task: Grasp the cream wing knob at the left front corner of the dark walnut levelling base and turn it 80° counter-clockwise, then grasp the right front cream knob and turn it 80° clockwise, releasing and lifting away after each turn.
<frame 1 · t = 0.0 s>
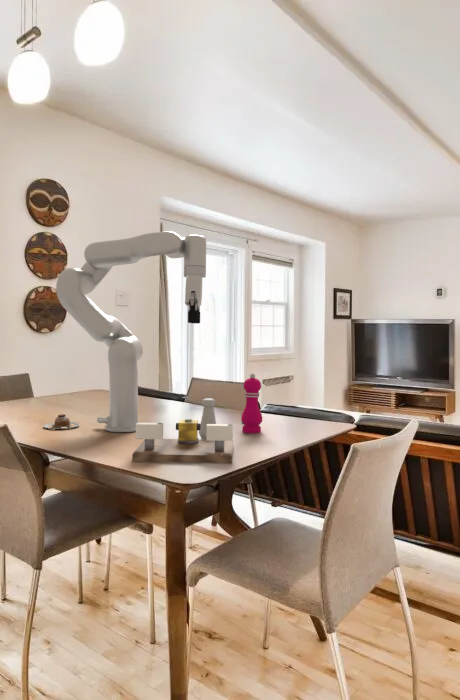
hand: (194, 323, 171), 37 cm above the table, tool pointing down, fingers open, 9 cm apart
salt shaker: (208, 440, 158), on the table
knob right: (219, 437, 136), point 6 cm above the table, hinge at 0.0°
pepper mill: (251, 432, 172), on the table
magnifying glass: (253, 422, 192), on the table
pastry: (61, 428, 175), on the table
knob left: (149, 435, 136), point 6 cm above the table, hinge at 0.0°
level base: (185, 453, 140), on the table
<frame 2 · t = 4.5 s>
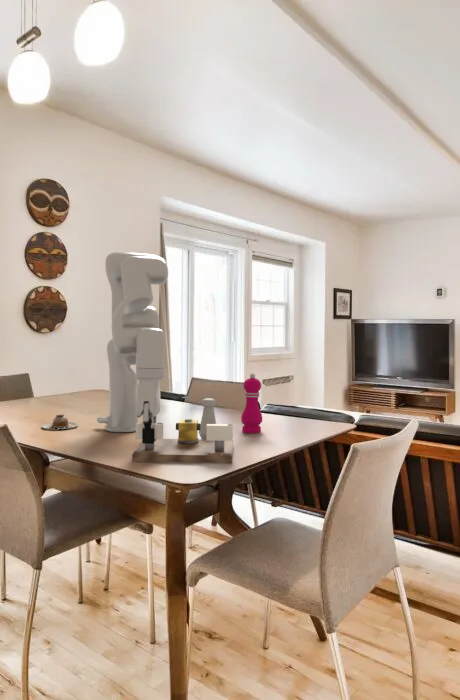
hand: (149, 441, 136), 4 cm above the table, tool pointing down, fingers closed on knob left, 2 cm apart
knob left: (149, 435, 136), point 6 cm above the table, hinge at 0.0°, touching gripper
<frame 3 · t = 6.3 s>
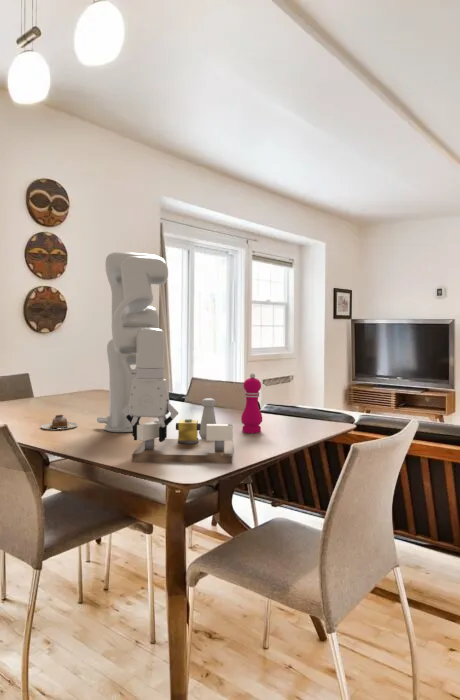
hand: (149, 439, 136), 5 cm above the table, tool pointing down, fingers open, 6 cm apart
knob left: (149, 435, 136), point 6 cm above the table, hinge at 54.9°
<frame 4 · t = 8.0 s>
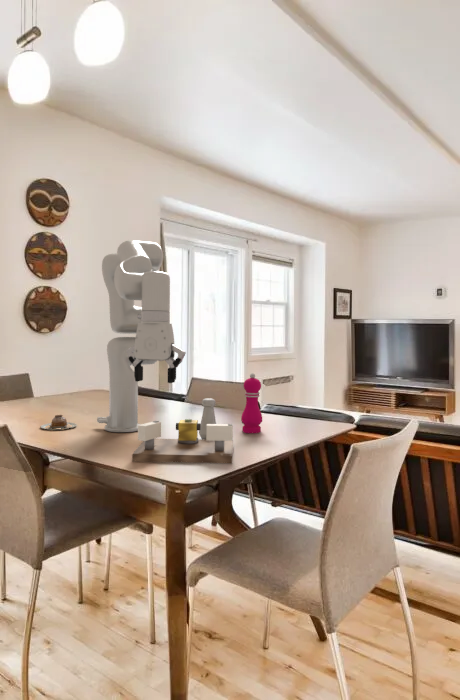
hand: (155, 381, 135), 20 cm above the table, tool pointing down, fingers open, 9 cm apart
knob left: (149, 435, 136), point 6 cm above the table, hinge at 62.7°
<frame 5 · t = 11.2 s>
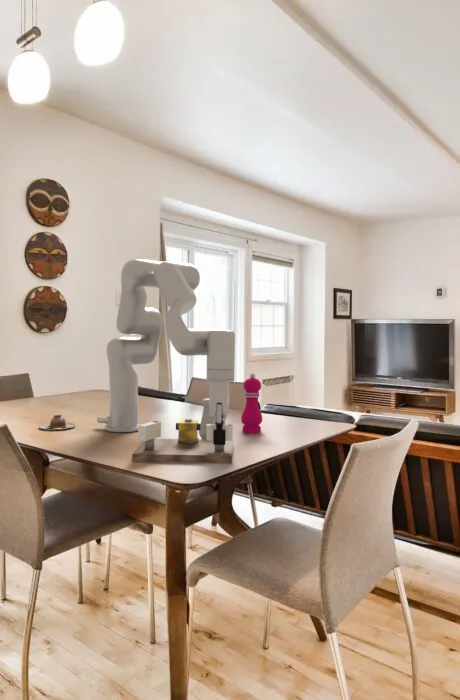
hand: (219, 442, 136), 4 cm above the table, tool pointing down, fingers closed on knob right, 2 cm apart
knob right: (219, 437, 136), point 6 cm above the table, hinge at 0.0°, touching gripper
knob left: (149, 435, 136), point 6 cm above the table, hinge at 64.3°
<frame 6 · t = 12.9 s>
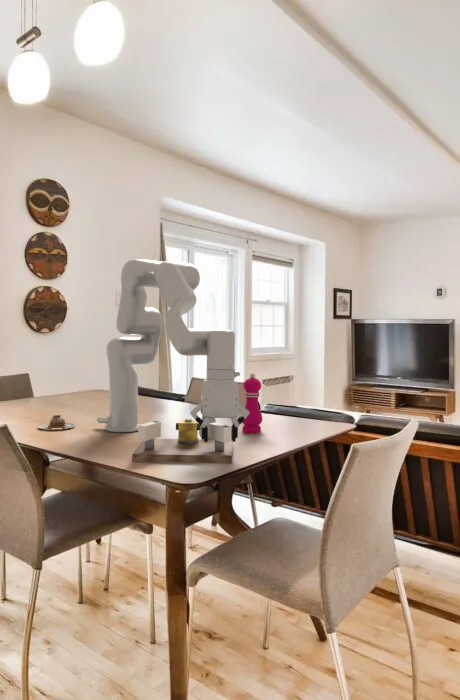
hand: (219, 440, 136), 5 cm above the table, tool pointing down, fingers open, 7 cm apart
knob right: (219, 437, 136), point 6 cm above the table, hinge at -52.3°
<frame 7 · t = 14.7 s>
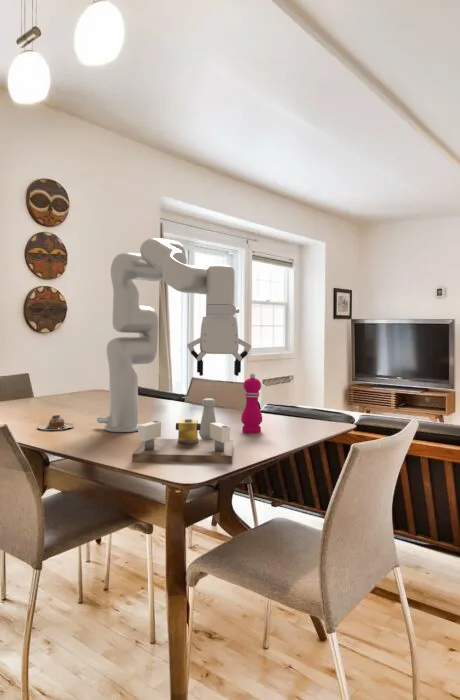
hand: (218, 375, 136), 22 cm above the table, tool pointing down, fingers open, 9 cm apart
knob right: (219, 437, 136), point 6 cm above the table, hinge at -60.2°
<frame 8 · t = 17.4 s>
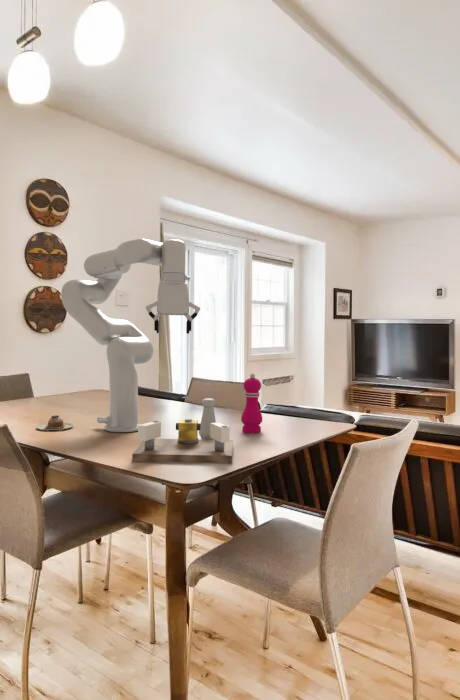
hand: (172, 333, 161), 33 cm above the table, tool pointing down, fingers open, 9 cm apart
knob right: (219, 437, 136), point 6 cm above the table, hinge at -61.6°
at the end: knob left at +64° (first picture: +0°); knob right at -62° (first picture: +0°) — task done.
